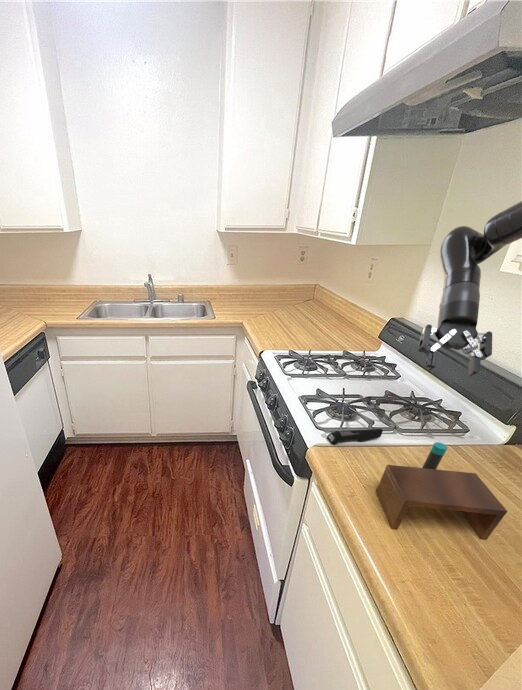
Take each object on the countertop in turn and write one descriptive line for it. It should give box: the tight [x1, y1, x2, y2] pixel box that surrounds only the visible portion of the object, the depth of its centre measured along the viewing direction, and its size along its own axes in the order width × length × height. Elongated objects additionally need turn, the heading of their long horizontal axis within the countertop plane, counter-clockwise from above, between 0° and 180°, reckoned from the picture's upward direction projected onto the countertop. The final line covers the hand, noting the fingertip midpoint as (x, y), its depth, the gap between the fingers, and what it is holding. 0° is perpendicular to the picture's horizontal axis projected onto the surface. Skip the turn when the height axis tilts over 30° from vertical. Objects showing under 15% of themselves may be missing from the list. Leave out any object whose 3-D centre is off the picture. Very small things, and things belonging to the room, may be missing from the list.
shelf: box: [375, 464, 508, 541], centre depth 71 cm, size 18×11×8 cm, turn 82°
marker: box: [421, 441, 448, 470], centre depth 80 cm, size 3×3×10 cm
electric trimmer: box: [326, 428, 383, 445], centre depth 96 cm, size 4×16×3 cm, turn 100°
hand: (451, 371), depth 79 cm, fingers open, 8 cm apart
